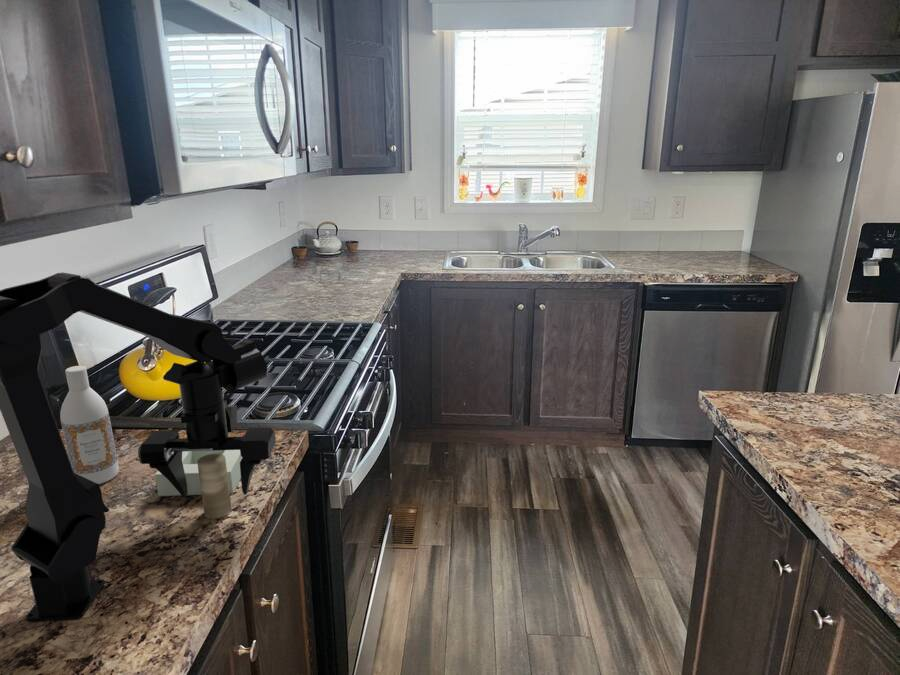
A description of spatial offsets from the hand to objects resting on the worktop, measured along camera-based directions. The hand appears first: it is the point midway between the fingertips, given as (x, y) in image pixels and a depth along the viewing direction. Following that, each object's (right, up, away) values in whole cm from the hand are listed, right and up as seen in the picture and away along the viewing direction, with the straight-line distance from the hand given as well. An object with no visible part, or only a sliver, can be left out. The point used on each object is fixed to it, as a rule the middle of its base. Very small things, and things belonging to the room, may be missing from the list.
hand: (215, 494), depth 94 cm
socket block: (-6, 0, +11) cm, 12 cm away
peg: (0, -3, +1) cm, 3 cm away
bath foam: (-25, 0, +11) cm, 27 cm away
